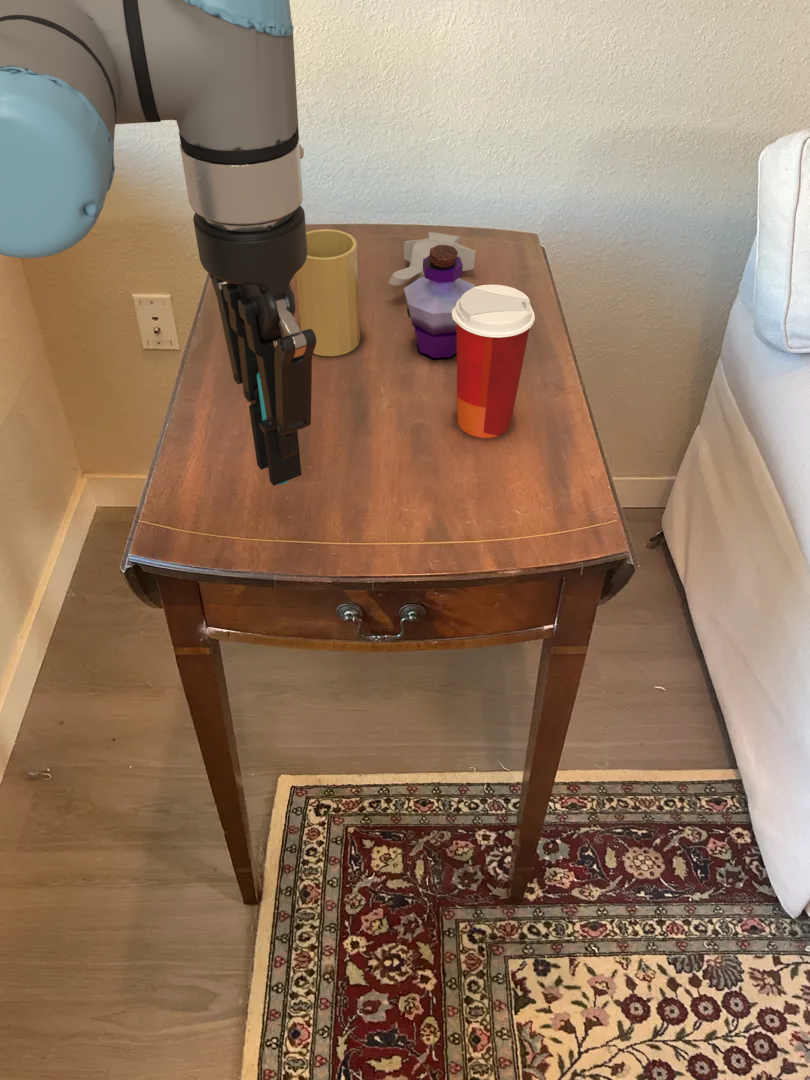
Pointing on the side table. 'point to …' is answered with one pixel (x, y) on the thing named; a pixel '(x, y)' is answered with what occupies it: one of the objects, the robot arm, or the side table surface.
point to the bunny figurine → (421, 250)
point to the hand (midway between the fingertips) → (279, 469)
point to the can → (330, 291)
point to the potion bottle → (437, 303)
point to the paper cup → (490, 356)
